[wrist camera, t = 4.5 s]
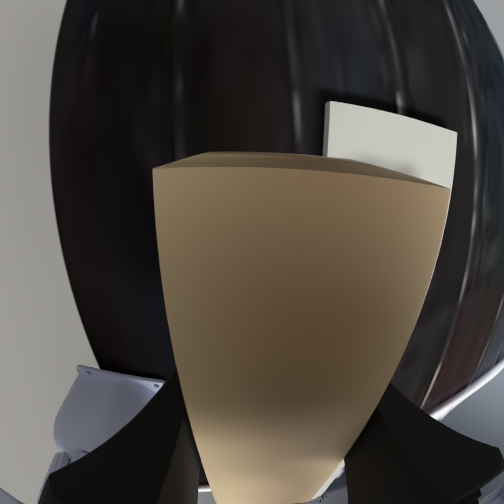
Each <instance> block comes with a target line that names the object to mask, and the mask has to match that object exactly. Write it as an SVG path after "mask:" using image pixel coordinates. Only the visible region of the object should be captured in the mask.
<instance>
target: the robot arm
mask: <svg viewBox="0 0 504 504" xmlns="http://www.w3.org/2000/svg"><path fill="white" fill-rule="evenodd" d="M77 371H78V373H79V375H78V377H77V378H76V380H75V382H74V384H73V386H72V387H71V389H70V391H69V393H68V395H67V396H66V398H65V400H64V402H63V404H62V406H61V408H60V410H59V412H58V413H57V416H56V419H55V423H54V439H55V442H56V445H57V447H58V449H59V450H60V452H59V453H56V454H55V455H54V458H53V460H52V462H51V464H50V467H49V469H48V472H47V474H46V477H45V479H44V482H43V485H42V487H41V490H40V493H39V496H38V500H37V501H38V503H37V504H197V499H198V483H199V470H200V461H201V458H200V455H199V451H198V448H197V445H196V441H195V438H194V435H193V431H192V428H191V424H190V420H189V417H188V413H187V409H186V405H185V401H184V397H183V393H182V389H181V384H180V380H179V375H178V371H177V366H176V368H175V369H174V371H173V372H172V373H171V375H170V376H169V377H168V379H167V380H166V381H164V380H158V379H151V378H145V377H138V376H132V375H126V374H121V373H116V372H111V371H106V370H101V369H96V368H92V367H87V366H83V365H78V367H77ZM344 464H345V472H346V480H347V491H348V504H504V485H502V486H501V487H499V488H498V489H497V490H495V491H494V492H492V493H491V494H489V495H488V496H487V497H485V498H484V499H482V500H481V501H479V502H478V499H477V498H479V497H480V496H481V491H480V488H481V487H483V486H484V485H486V484H487V483H489V482H490V481H491V480H493V479H494V478H495V477H497V476H498V475H499V474H500V473H501V472H503V471H504V458H503V456H502V454H501V452H500V450H499V448H497V447H493V446H491V445H487V444H485V443H481V442H479V441H476V440H473V439H471V438H469V437H467V436H464V435H462V434H460V433H458V432H456V431H454V430H452V429H451V428H449V427H447V426H445V425H444V424H442V423H440V422H439V421H437V420H436V419H434V418H432V417H431V416H429V415H428V414H427V413H425V412H424V411H423V410H421V409H420V408H419V407H417V406H416V405H415V404H413V403H412V402H411V401H410V400H408V399H407V398H406V397H405V396H404V395H403V394H402V393H401V392H399V391H398V390H397V389H396V388H395V387H394V386H393V385H392V384H391V383H390V382H389V384H388V386H387V388H386V390H385V392H384V394H383V395H382V397H381V399H380V401H379V403H378V405H377V406H376V408H375V410H374V412H373V413H372V415H371V417H370V418H369V420H368V422H367V423H366V425H365V427H364V428H363V430H362V431H361V433H360V435H359V436H358V438H357V439H356V441H355V442H354V444H353V445H352V447H351V448H350V450H349V451H348V453H347V454H346V455H345V457H344ZM0 504H24V503H22V502H20V501H19V500H17V499H16V498H14V497H13V496H11V495H10V494H9V493H7V492H6V491H4V490H3V489H1V488H0Z"/></svg>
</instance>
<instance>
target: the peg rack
mask: <svg viewBox="0 0 504 504" xmlns="http://www.w3.org/2000/svg"><path fill="white" fill-rule="evenodd" d="M456 142H457V133H456V132H453V131H450V130H448V129H445V128H442V127H439V126H436V125H433V124H429V123H426V122H423V121H420V120H416V119H413V118H409V117H405V116H402V115H398V114H394V113H390V112H386V111H381V110H377V109H372V108H367V107H362V106H357V105H352V104H346V103H340V102H334V101H329V102H327V103H325V122H324V141H323V156H325V157H335V158H344V159H352V160H356V161H360V162H364V163H368V164H372V165H376V166H379V167H383V168H387V169H390V170H394V171H397V172H401V173H404V174H407V175H411V176H414V177H417V178H420V179H423V180H426V181H429V182H432V183H435V184H438V185H441V186H444V187H447V188H449V189H452V182H453V174H454V166H455V155H456ZM450 196H451V191H450ZM449 202H450V197H449ZM448 208H449V203H448ZM447 213H448V209H447ZM446 218H447V215H446ZM445 223H446V220H445ZM444 228H445V225H444ZM443 232H444V230H443ZM442 237H443V234H442ZM441 241H442V239H441ZM440 245H441V243H440ZM439 249H440V247H439ZM438 253H439V251H438ZM437 257H438V255H437ZM436 261H437V259H436ZM435 264H436V263H435ZM434 268H435V266H434ZM433 271H434V270H433ZM432 275H433V273H432ZM431 278H432V277H431ZM430 281H431V280H430ZM429 284H430V283H429ZM428 287H429V286H428ZM427 291H428V290H427ZM426 294H427V293H426ZM425 297H426V296H425ZM421 308H422V307H421ZM420 311H421V310H420ZM417 319H418V318H417Z"/></svg>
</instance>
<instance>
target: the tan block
mask: <svg viewBox="0 0 504 504" xmlns="http://www.w3.org/2000/svg"><path fill="white" fill-rule="evenodd" d="M153 190H154V207H155V220H156V232H157V243H158V253H159V262H160V270H161V278H162V286H163V293H164V300H165V306H166V312H167V319H168V324H169V330H170V336H171V341H172V346H173V352H174V357H175V361H176V366H177V371H178V375H179V380H180V384H181V389H182V393H183V397H184V401H185V405H186V409H187V413H188V417H189V420H190V424H191V428H192V431H193V435H194V438H195V441H196V445H197V448H198V451H199V455H200V458H201V461H202V464H203V467H204V470H205V473H206V476H207V479H208V482H209V485H210V487H211V490H212V493H213V496H214V498H215V501H216V503H217V504H288V503H300V502H309V501H310V500H311V499H312V498H313V496H314V495H315V494H316V493H317V492H318V491H319V489H320V488H321V487H322V486H323V484H324V483H325V482H326V481H327V479H328V478H329V477H330V476H331V474H332V473H333V472H334V470H335V469H336V468H337V466H338V465H339V464H340V462H341V461H342V460H343V458H344V457H345V455H346V454H347V453H348V451H349V450H350V448H351V447H352V445H353V444H354V442H355V441H356V439H357V438H358V436H359V435H360V433H361V431H362V430H363V428H364V427H365V425H366V423H367V422H368V420H369V418H370V417H371V415H372V413H373V412H374V410H375V408H376V406H377V405H378V403H379V401H380V399H381V397H382V395H383V394H384V392H385V390H386V388H387V386H388V384H389V382H390V380H391V378H392V376H393V374H394V372H395V370H396V368H397V366H398V364H399V361H400V359H401V357H402V355H403V353H404V350H405V348H406V346H407V343H408V341H409V339H410V336H411V334H412V331H413V329H414V326H415V324H416V321H417V318H418V316H419V313H420V310H421V307H422V305H423V302H424V299H425V296H426V293H427V290H428V286H429V283H430V280H431V277H432V273H433V270H434V266H435V263H436V259H437V255H438V251H439V247H440V243H441V239H442V234H443V230H444V225H445V220H446V215H447V209H448V203H449V197H450V191H451V189H449V188H447V187H444V186H441V185H438V184H435V183H432V182H429V181H426V180H423V179H420V178H417V177H414V176H411V175H407V174H404V173H401V172H397V171H394V170H390V169H387V168H383V167H379V166H376V165H372V164H368V163H364V162H360V161H356V160H352V159H344V158H335V157H325V156H314V155H301V154H286V153H265V152H206V153H202V154H199V155H195V156H192V157H188V158H185V159H181V160H178V161H175V162H172V163H169V164H165V165H162V166H159V167H156V168H153Z"/></svg>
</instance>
